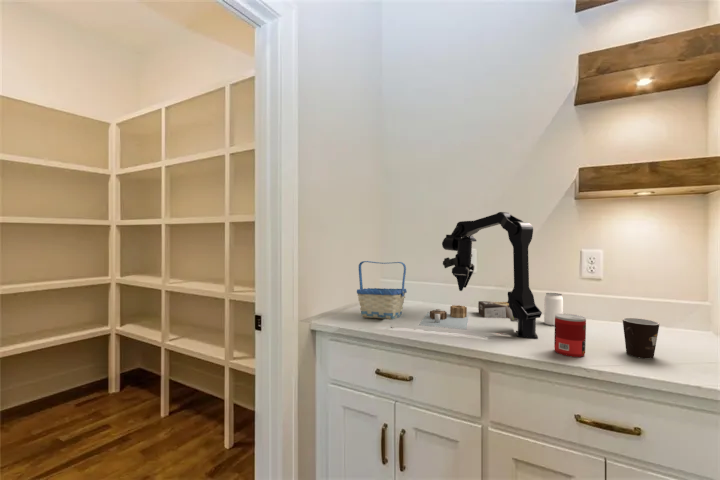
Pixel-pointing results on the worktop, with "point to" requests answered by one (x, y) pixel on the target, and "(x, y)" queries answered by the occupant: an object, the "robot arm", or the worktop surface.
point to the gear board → (445, 321)
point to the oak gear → (458, 311)
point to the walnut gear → (442, 313)
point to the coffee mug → (640, 337)
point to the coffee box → (495, 310)
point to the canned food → (570, 335)
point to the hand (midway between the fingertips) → (462, 289)
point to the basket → (381, 299)
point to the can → (552, 307)
